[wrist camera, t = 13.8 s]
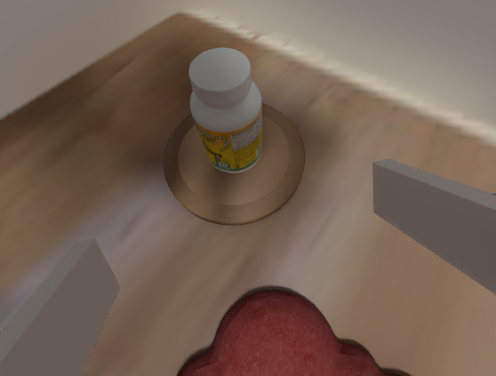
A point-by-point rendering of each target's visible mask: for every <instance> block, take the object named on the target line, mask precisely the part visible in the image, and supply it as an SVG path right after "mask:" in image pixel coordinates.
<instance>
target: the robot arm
mask: <svg viewBox="0 0 496 376" xmlns="http://www.w3.org/2000/svg"><path fill="white" fill-rule="evenodd" d="M373 205H374V213H375V214H377V215H378V216H380V217H381V218H383V219H384V220H386V221H387V222H389V223H390V224H392V225H393V226H395V227H396V228H397V229H399V230H400V231H402V232H403V233H405V234H406V235H408V236H409V237H411V238H412V239H414V240H415V241H417V242H418V243H420V244H421V245H423V246H424V247H426V248H427V249H429V250H430V251H432V252H433V253H435V254H436V255H438V256H439V257H441V258H442V259H444V260H445V261H447V262H448V263H450V264H451V265H453V266H454V267H455V268H457V269H458V270H460V271H461V272H463V273H464V274H466V275H467V276H469V277H470V278H472V279H473V280H475V281H476V282H478V283H479V284H481V285H482V286H484V287H485V288H487V289H488V290H490V291H491V292H493V293H494V294H496V194H493V193H489V192H486V191H483V190H480V189H477V188H474V187H471V186H468V185H465V184H462V183H459V182H456V181H453V180H450V179H447V178H444V177H441V176H438V175H435V174H432V173H429V172H426V171H423V170H420V169H417V168H414V167H411V166H408V165H405V164H402V163H399V162H396V161H393V160H390V159H384V160H381V161H377V162H373ZM119 288H120V285H119V283H118V281H117V279H116V277H115V275H114V273H113V272H112V270H111V268H110V266H109V264H108V262H107V260H106V259H105V257H104V255H103V253H102V251H101V249H100V248H99V246H98V244H97V242H96V240H95V239H91V240H87V241H84V242H80V243H77V244H76V245H75V246H74V247H73V248H72V249H71V251H70V252H69V253H68V254H67V255H66V256H65V258H64V259H63V260H62V261H61V262H60V263H59V265H58V266H57V267H56V268H55V269H54V270H53V272H52V273H51V274H50V275H49V276H48V277H47V279H46V280H45V281H44V282H43V283H42V284H41V286H40V287H39V288H38V289H37V290H36V291H35V293H34V294H33V295H32V296H31V297H30V298H29V300H28V301H27V302H26V303H25V304H24V306H23V307H22V308H21V309H20V310H19V311H18V313H17V314H16V315H15V316H14V317H13V318H12V320H11V321H10V322H9V323H8V324H7V325H6V327H5V328H4V329H3V330H2V331H1V332H0V376H82V375H83V372H84V370H85V368H86V365H87V363H88V361H89V358H90V356H91V354H92V351H93V349H94V347H95V344H96V342H97V340H98V337H99V335H100V333H101V330H102V328H103V326H104V323H105V321H106V319H107V316H108V314H109V312H110V309H111V307H112V305H113V302H114V300H115V298H116V295H117V293H118V291H119Z"/></svg>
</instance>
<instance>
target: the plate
mask: <svg viewBox="0 0 496 376" xmlns="http://www.w3.org/2000/svg"><path fill="white" fill-rule="evenodd" d="M304 163H305V151H304V145H303V142H302V139H301V136H300V134H299V132H298V131H297V129H296V127H295V126H294V125H293V123H292V122H291V121H290V120H289V119H288V118H287V117H286V116H284V115H283V114H282V113H281V112H279V111H277V110H276V109H274V108H272V107H270V106H268V105H265V104H262V152H261V156H260V158H259V160H258V161H257V163H256V164H255V165H254V166H253V167H252V168H250V169H249V170H247V171H244V172H242V173H227V172H224V171H221V170H219V169H217V168H216V167H214V166H213V165H212V163H211V162H210V160H209V158H208V156H207V153H206V151H205V148H204V145H203V142H202V140H201V137H200V135H199V132H198V130H197V127H196V124H195V122H194V119H193V116H192V114H191V115H189V116H188V117H187V118H186V119H185V120H183V121H182V122H181V124H180V125H179V126H178V127H177V128H176V129H175V131H174V132H173V134H172V135H171V137H170V139H169V141H168V144H167V146H166V150H165V154H164V163H163V164H164V173H165V178H166V181H167V183H168V186H169V188H170V190H171V191H172V193H173V195H174V196H175V197H176V198H177V199H178V201H179V202H180V203H181V204H182V205H183V206H184V207H185V208H186V209H187V210H188V211H189V212H191V213H192V214H194V215H195V216H197V217H199V218H201V219H203V220H206V221H209V222H212V223H216V224H222V225H243V224H248V223H253V222H256V221H259V220H261V219H264V218H266V217H268V216H270V215H272V214H273V213H275V212H276V211H277V210H279V209H280V208H281V207H282V206H283V205H285V204H286V203H287V201H288V200H289V199H290V198H291V197H292V195H293V194H294V192H295V191H296V189H297V187H298V184H299V182H300V179H301V176H302V173H303V169H304Z"/></svg>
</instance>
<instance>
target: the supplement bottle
mask: <svg viewBox="0 0 496 376" xmlns="http://www.w3.org/2000/svg"><path fill="white" fill-rule="evenodd" d="M189 78H190V82H191V85H192V90H193V92H192V94H191V97H190V110H191V113H192V116H193V119H194V122H195V124H196V127H197V130H198V132H199V135H200V137H201V140H202V142H203V145H204V148H205V151H206V153H207V156H208V158H209V160H210V162H211V163H212V165H213V166H214V167H216V168H217V169H219V170H221V171H224V172H227V173H242V172H244V171H247V170H249V169H250V168H252V167H253V166H254V165H255V164H256V163H257V161H258V160H259V158H260V156H261V152H262V98H261V93H260V91H259V89H258V87H257V85H256V84H255V83H254V82H253V81H252V76H251V66H250V62H249V60H248V58H247V57H246V56H245V55H244V54H243V53H241V52H240V51H238V50H235V49H231V48H214V49H210V50H207V51H205V52H203V53H201V54H199V55H198V56H197V57H196V58H195V59H194V60H193V61H192V62H191V64H190V67H189Z"/></svg>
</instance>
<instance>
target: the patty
mask: <svg viewBox="0 0 496 376" xmlns="http://www.w3.org/2000/svg"><path fill="white" fill-rule="evenodd" d="M178 376H400V375H393V374H386V373H383V372H382V371H381V369H380V368H379V367H378V365H377V363H376V362H375V360H374V358H373V357H372V356H371V355H370V354H369V353H368V352H367V351H366V350H364V349H362V348H360V347H358V346H354V345H350V344H342V343H341V342H340V341H339V340H338V339H337V338H336V336H335V335H334V333H333V331H332V329H331V327H330V325H329V324H328V322H327V321H326V319H325V318H324V317H323V315H322V314H321V313H320V312H319V311H318V310H317V309H316V308H315V307H314V306H313V305H311V304H310V303H309V302H308V301H306V300H305V299H304V298H302V297H300V296H298V295H296V294H293V293H290V292H287V291H280V290H265V291H260V292H256V293H254V294H251V295H249V296H247V297H246V298H244V299H243V300H241V301H239V302H238V303H237V305H235V306H234V307H233V308H232V309H231V310H230V311H229V312H228V314H227V315H226V316H225V318H224V320H223V322H222V324H221V326H220V328H219V330H218V333H217V335H216V338H215V341H214V344H213V346H212V347H211V348H210V349H209V350H208V351H207V352H206V353H204V354H201V355H199V356H197V357H196V358H194V359H192V360H191V361H190V362H189V363H187V364H186V365H185V366H184V368H183V369H182V370H181V371H180V373H179V375H178Z"/></svg>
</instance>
